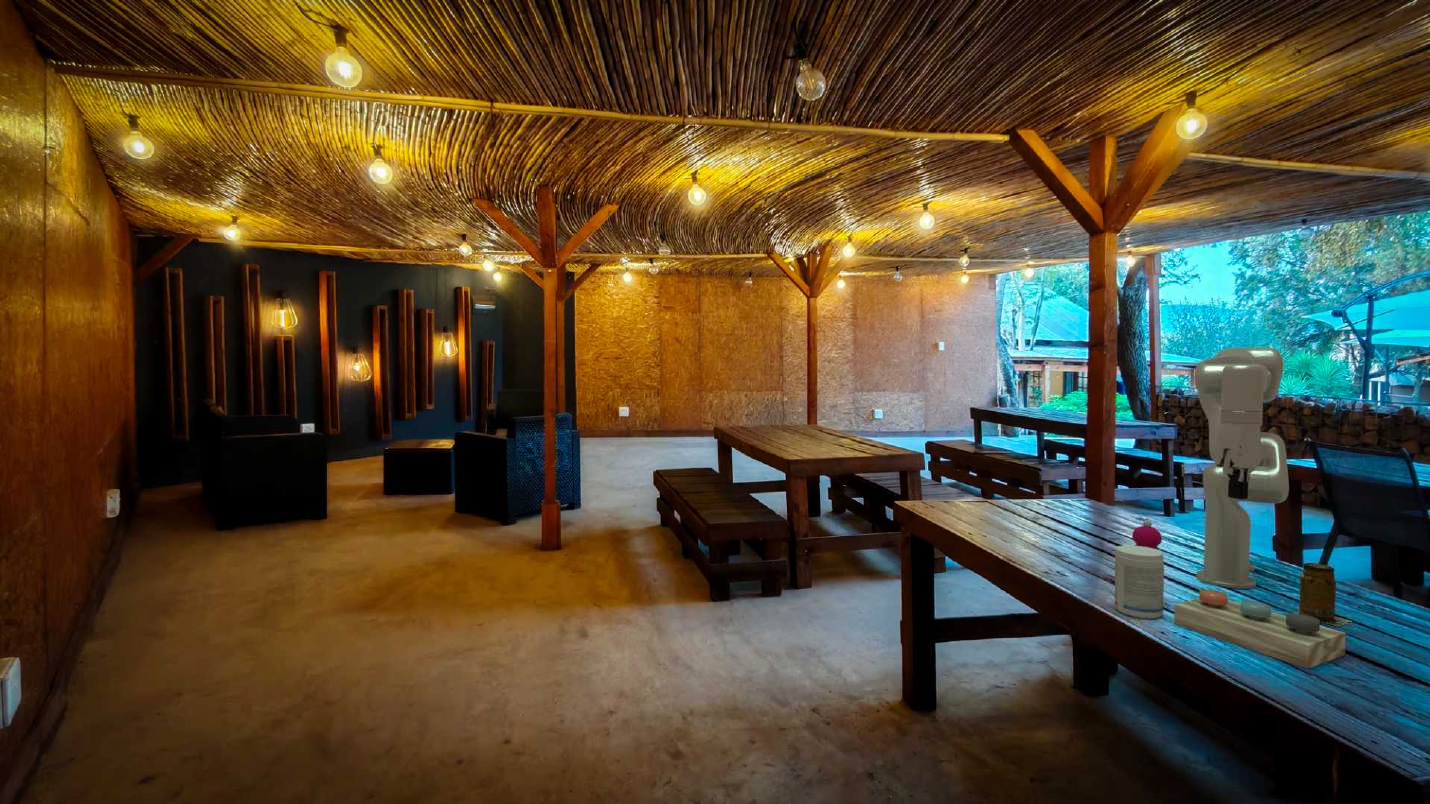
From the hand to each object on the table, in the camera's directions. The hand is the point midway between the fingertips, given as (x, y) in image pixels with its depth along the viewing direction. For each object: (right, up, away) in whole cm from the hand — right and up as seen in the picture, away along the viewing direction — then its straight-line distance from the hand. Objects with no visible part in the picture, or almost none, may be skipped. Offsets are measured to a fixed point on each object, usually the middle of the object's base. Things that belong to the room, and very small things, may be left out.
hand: (1237, 498), depth 151 cm
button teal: (-7, -26, -13) cm, 29 cm away
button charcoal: (-3, -26, -20) cm, 33 cm away
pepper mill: (-15, -27, +10) cm, 32 cm away
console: (-7, -28, -13) cm, 31 cm away
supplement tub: (-21, -27, +2) cm, 35 cm away
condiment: (+18, -28, -1) cm, 33 cm away
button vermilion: (-10, -25, -6) cm, 28 cm away
